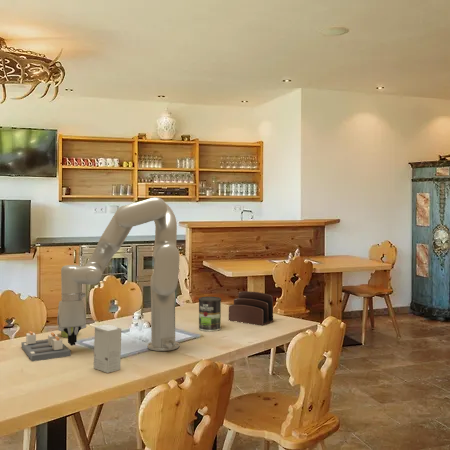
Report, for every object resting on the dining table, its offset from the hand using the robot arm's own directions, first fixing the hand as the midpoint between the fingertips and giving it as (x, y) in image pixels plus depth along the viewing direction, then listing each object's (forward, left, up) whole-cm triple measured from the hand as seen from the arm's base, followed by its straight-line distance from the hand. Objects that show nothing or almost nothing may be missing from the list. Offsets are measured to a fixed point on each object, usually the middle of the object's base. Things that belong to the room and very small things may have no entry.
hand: (72, 344), depth 205 cm
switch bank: (+7, +9, -3) cm, 12 cm away
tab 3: (0, +6, -1) cm, 6 cm away
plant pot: (+27, -5, -3) cm, 28 cm away
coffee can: (+7, -64, -3) cm, 65 cm away
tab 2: (+7, +6, -1) cm, 9 cm away
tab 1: (+14, +13, -1) cm, 19 cm away
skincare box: (-27, -5, -3) cm, 28 cm away
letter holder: (+10, -89, -4) cm, 90 cm away
